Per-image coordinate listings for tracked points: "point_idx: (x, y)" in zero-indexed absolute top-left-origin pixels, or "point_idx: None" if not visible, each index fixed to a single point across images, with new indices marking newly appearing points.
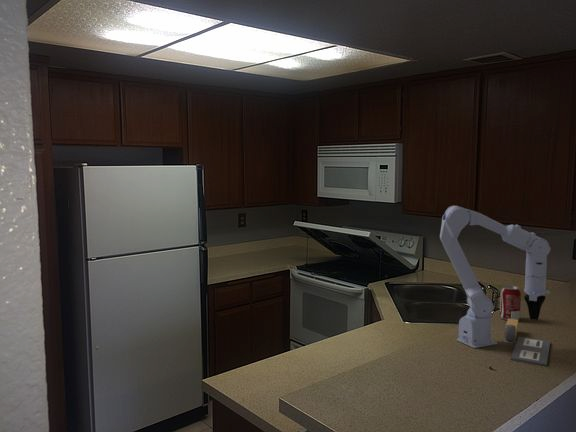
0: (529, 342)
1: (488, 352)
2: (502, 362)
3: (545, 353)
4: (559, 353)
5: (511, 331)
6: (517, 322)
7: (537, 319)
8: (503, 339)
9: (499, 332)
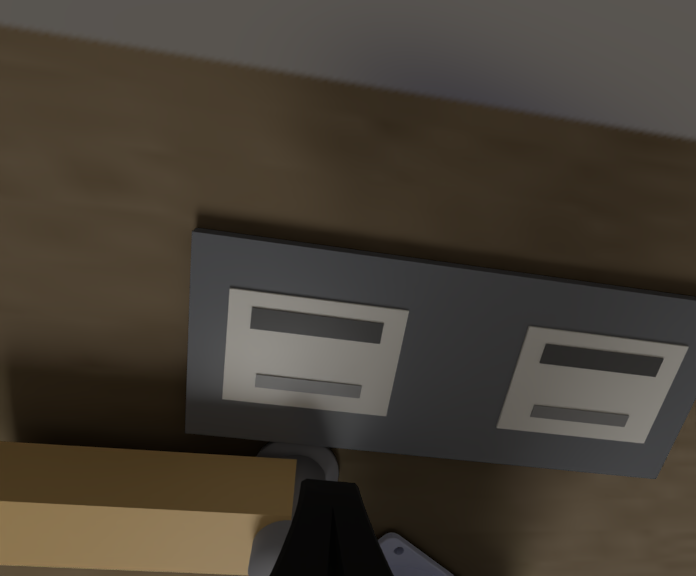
0: (311, 377)
1: (546, 558)
2: (693, 502)
3: (525, 294)
4: (439, 188)
5: None
6: (46, 504)
7: (358, 489)
8: None
9: None
